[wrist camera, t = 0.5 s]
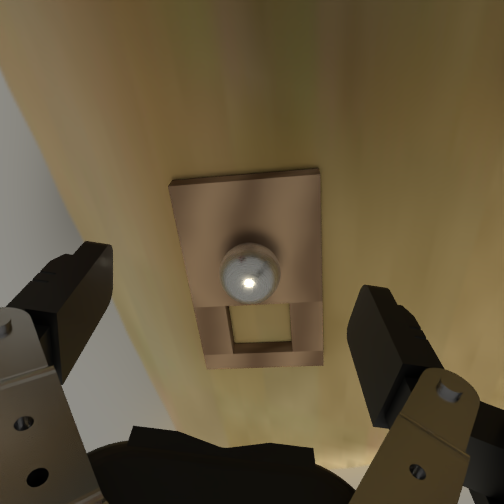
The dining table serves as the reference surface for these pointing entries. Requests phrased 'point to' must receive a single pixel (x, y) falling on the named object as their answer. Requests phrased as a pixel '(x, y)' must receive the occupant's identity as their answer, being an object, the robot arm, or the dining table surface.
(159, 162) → the dining table surface
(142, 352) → the dining table surface
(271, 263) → the ball
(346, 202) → the dining table surface
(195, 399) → the dining table surface
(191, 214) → the wooden cutting board
